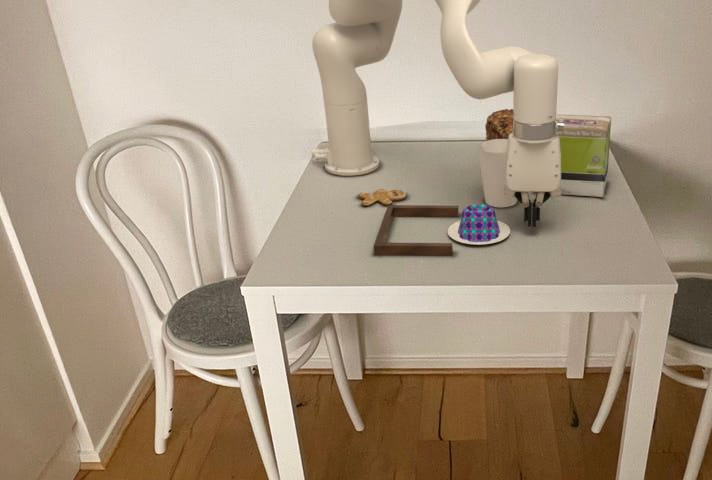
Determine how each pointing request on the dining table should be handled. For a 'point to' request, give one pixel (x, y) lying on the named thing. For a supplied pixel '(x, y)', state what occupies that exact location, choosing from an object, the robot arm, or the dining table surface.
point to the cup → (494, 172)
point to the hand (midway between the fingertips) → (531, 224)
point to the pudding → (478, 226)
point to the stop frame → (413, 248)
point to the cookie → (382, 196)
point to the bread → (499, 125)
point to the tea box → (584, 154)
